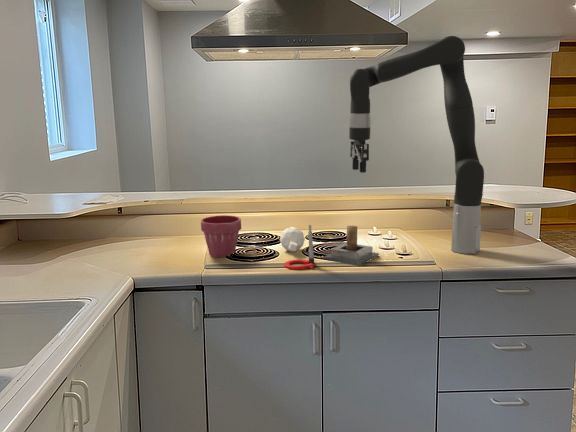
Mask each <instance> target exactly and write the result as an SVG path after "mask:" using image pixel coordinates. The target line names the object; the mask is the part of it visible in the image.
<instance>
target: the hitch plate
mask: <svg viewBox="0 0 576 432" xmlns="http://www.w3.org/2000/svg"><path fill="white" fill-rule="evenodd" d="M378 255H379V256H380V253H379V252H375V251H374V252H373V246H370V245H362V244H358V243H357V251H351V250H347V242H344V243H341V244H339V245H337V246H335V247H333V248H331V249H330V253H329V254H326V255H325V256H323V259H324V260H325V259H326V260H327V261H331V262H337V263H343V264H349V265H354V266H363V265H364V263H365V262H367V261H368V260H370V259H372V258H374V257H376V256H378ZM379 256H378V257H379ZM376 258H377V257H376ZM374 259H375V258H374ZM372 260H373V259H372ZM367 263H368V262H367ZM365 264H366V263H365Z"/></svg>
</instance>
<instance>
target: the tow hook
mask: <svg viewBox="0 0 576 432" xmlns="http://www.w3.org/2000/svg"><path fill="white" fill-rule="evenodd" d="M307 235H308V259H290V260H287V261H285V262H284V263H283V264H284V265H283V266H284V268H285V269H288V270H304V269H310V270H313V269H314V268H315V253H314V244H313V243H314V241H313V231H312V225H311V224H309V225H308V233H307ZM293 263H294V264H300V265H293ZM301 264H302V265H301Z"/></svg>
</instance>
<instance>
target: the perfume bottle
mask: <svg viewBox="0 0 576 432" xmlns="http://www.w3.org/2000/svg"><path fill="white" fill-rule="evenodd" d="M305 239H306V238H305V236H304V232H303V231H302V230H300V228H297V227H295V226H290V227H286V228H285V229H284V230H283V231H282V232H281V235H280V238H279V241H280V245H281V246H282V247H283V249H285V250H286V251H288V252H292V253H293V252H297V251H299V250H300V249H301V248H302V247H304V244H305V241H306V240H305Z"/></svg>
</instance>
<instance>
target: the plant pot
mask: <svg viewBox="0 0 576 432" xmlns="http://www.w3.org/2000/svg"><path fill="white" fill-rule="evenodd" d="M241 220H242V219H241V217H239V216H236V215H226V214H225V215H212V216H208V217H207V216H206V217H204V218H202V219H200V230H201V232H203V235H204V238H205V243H206V248H207V250H208V254H209V256H210V255H211V257H213V256H214V257H213V258H226V256H228V255H231V254H233V253H235V254H236V249H237V245H238V238H239V232H240V230H241V229H242V221H241ZM228 257H229V256H228Z"/></svg>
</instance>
